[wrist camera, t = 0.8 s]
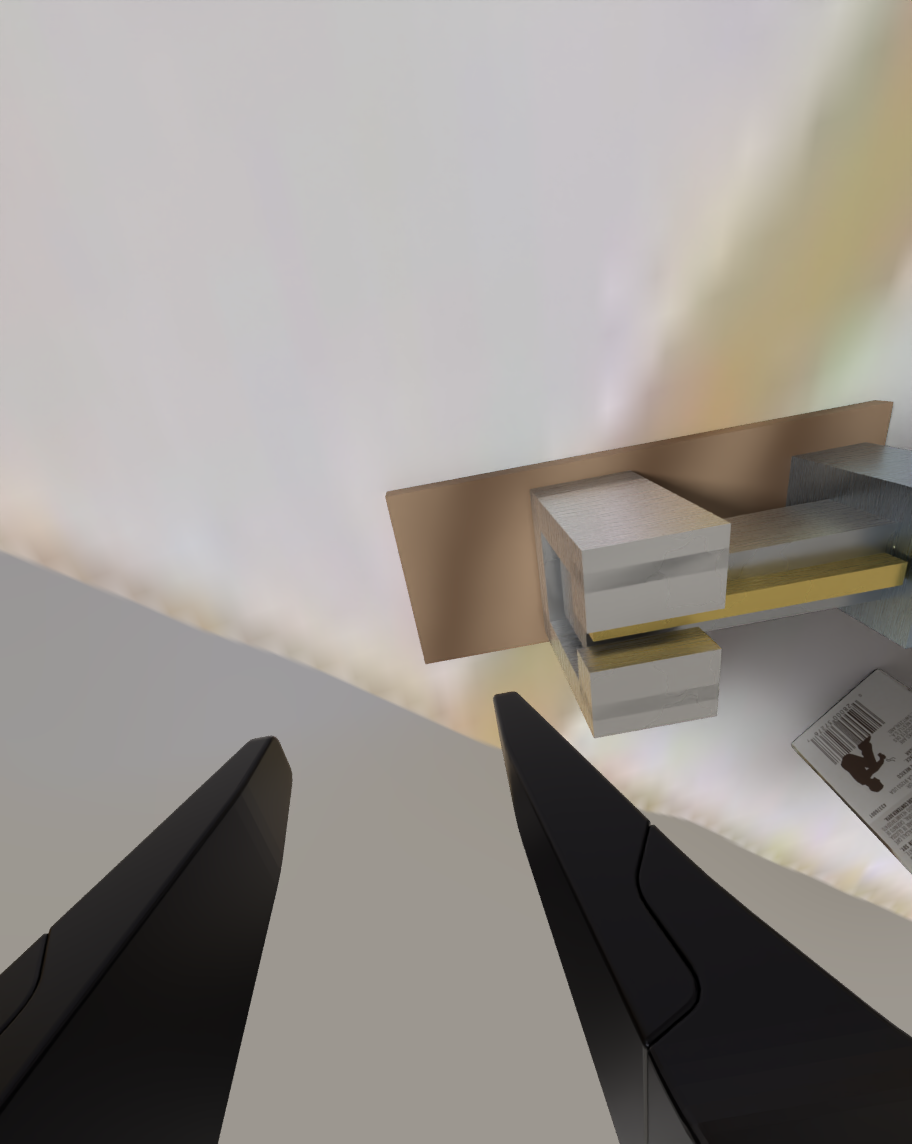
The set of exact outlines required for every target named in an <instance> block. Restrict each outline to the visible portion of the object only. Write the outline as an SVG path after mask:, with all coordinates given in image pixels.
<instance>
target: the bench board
mask: <svg viewBox="0 0 912 1144" xmlns="http://www.w3.org/2000/svg"><path fill="white" fill-rule="evenodd" d="M892 407H893V402H888V401H877V400H875V401H869V402H864V403H859V404H853V405H848V406H843V407H837V408H832V409H827V410H821V411H816V412H811V413H805V414H800V415H794V416H789V417H784V418H778V419H773V420H768V421H762V422H757V423H752V424H746V425H741V426H736V427H730V428H725V429H720V430H714V431H709V432H704V433H698V434H693V435H688V436H682V437H677V438H672V439H666V440H661V441H656V442H650V443H645V444H640V445H634V446H629V447H624V448H618V449H613V450H608V451H602V452H597V453H591V454H586V455H581V456H575V457H570V458H565V459H559V460H554V461H549V462H543V463H538V464H533V465H527V466H522V467H517V468H511V469H506V470H501V471H495V472H490V473H485V474H479V475H474V476H469V477H463V478H458V479H453V480H447V481H442V482H437V483H431V484H426V485H421V486H415V487H410V488H405V489H399V490H394V491H388V492H387V493H386V502H387V506H388V510H389V514H390V518H391V522H392V527H393V531H394V535H395V539H396V543H397V547H398V552H399V556H400V560H401V564H402V568H403V572H404V576H405V581H406V585H407V589H408V593H409V597H410V601H411V606H412V610H413V614H414V618H415V622H416V626H417V630H418V635H419V639H420V643H421V647H422V651H423V655H424V660H425V664H429V663H434V662H440V661H445V660H451V659H456V658H462V657H467V656H473V655H478V654H483V653H489V652H494V651H500V650H505V649H511V648H516V647H522V646H527V645H532V644H538V643H543V642H549V639H548V637H547V634H546V632H545V625H544V616H543V607H542V598H541V589H540V579H539V570H538V561H537V552H536V543H535V534H534V525H533V515H532V506H531V497H530V489H534V488H539V487H544V486H550V485H555V484H560V483H566V482H571V481H576V480H582V479H587V478H592V477H598V476H603V475H609V474H614V473H619V472H625V471H630V470H631V471H633V472H634V473H636V474H638V475H640V476H642V477H644V478H646V479H648V480H650V481H652V482H653V483H655V484H657V485H659V486H661V487H663V488H665V489H667V490H669V491H671V492H672V493H674V494H676V495H678V496H680V497H682V498H684V499H686V500H688V501H690V502H692V503H693V504H695V505H697V506H699V507H701V508H703V509H705V510H707V511H709V512H711V513H712V514H714V515H716V516H718V517H720V518H722V519H723V518H728V517H734V516H739V515H744V514H750V513H755V512H761V511H766V510H771V509H777V508H782V507H786V499H787V491H788V483H789V475H790V466H791V458H792V456H795V455H801V454H806V453H811V452H817V451H822V450H827V449H833V448H838V447H844V446H849V445H854V444H860V443H865V442H867V443H873V444H878V445H884V446H885V441H886V436H887V432H888V427H889V422H890V417H891V412H892Z"/></svg>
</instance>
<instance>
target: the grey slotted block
mask: <svg viewBox="0 0 912 1144" xmlns="http://www.w3.org/2000/svg"><path fill="white" fill-rule="evenodd" d="M530 497H531V506H532V515H533V525H534V534H535V543H536V552H537V561H538V570H539V579H540V589H541V598H542V607H543V616H544V625H545V632H546V634H547V637H548V639H549V641H550V643H551V645H552V647H553V650H554V652H555V654H556V656H557V658H558V661H559V663H560V665H561V667H562V669H563V671H564V674H565V676H566V678H567V680H568V682H569V685H570V687H571V689H572V691H573V693H574V695H575V698H576V700H577V702H578V704H579V706H580V709H581V711H582V713H583V715H584V717H585V719H586V722H587V724H588V726H589V728H590V730H591V733H592V735H593V737H594V738H598V737H604V736H609V735H615V734H620V733H626V732H631V731H637V730H642V729H648V728H653V727H659V726H664V725H670V724H675V723H681V722H686V721H692V720H697V719H703V718H708V717H714V716H717V707H718V693H719V680H720V666H721V653H722V649H721V648H720V647H719V646H718V645H717V644H716V643H715V642H714V641H713V640H712V639H711V638H710V637H709V636H708V635H707V634H706V633H705V632H704V631H703V630H702V629H701V628H700V627H694V628H688V629H683V630H677V631H672V632H666V633H661V634H655V635H650V636H645V637H639V638H634V639H628V640H623V641H617V642H612V643H606V644H601V645H595V646H590V647H585V648H584V647H583V645H582V643H581V642H580V640H579V638H578V636H577V635H576V633H575V631H574V629H573V628H572V626H571V624H570V622H569V620H568V619H567V617H566V615H565V612H564V600H563V589H562V578H561V566H560V560H561V561H562V563H563V564H564V565H565V567H566V568H567V570H568V571H569V573H570V574H571V582H572V594H573V607H574V613H575V614H576V616H577V618H578V619H579V621H580V623H581V624H582V626H583V628H584V629H585V631H586V633H587V634H588V633H593V632H599V631H604V630H610V629H615V628H621V627H626V626H631V625H637V624H642V623H648V622H653V621H659V620H664V619H670V618H675V617H680V616H686V615H691V614H697V613H702V612H708V611H713V610H718V609H724V608H725V598H726V585H727V571H728V558H729V544H730V530H731V523H730V522H728V521H726V520H724V519H722V518H720V517H718V516H716V515H714V514H712V513H711V512H709V511H707V510H705V509H703V508H701V507H699V506H697V505H695V504H693V503H692V502H690V501H688V500H686V499H684V498H682V497H680V496H678V495H676V494H674V493H672V492H671V491H669V490H667V489H665V488H663V487H661V486H659V485H657V484H655V483H653V482H652V481H650V480H648V479H646V478H644V477H642V476H640V475H638V474H636V473H634V472H633V471H631V470H630V471H625V472H619V473H614V474H609V475H603V476H598V477H592V478H587V479H582V480H576V481H571V482H566V483H560V484H555V485H550V486H544V487H539V488H534V489H530Z"/></svg>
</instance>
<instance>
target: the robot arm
mask: <svg viewBox="0 0 912 1144" xmlns="http://www.w3.org/2000/svg"><path fill="white" fill-rule="evenodd" d="M493 702H494V708H495V713H496V719H497V725H498V730H499V736H500V741H501V746H502V751H503V756H504V761H505V766H506V771H507V776H508V781H509V787H510V791H511V796H512V802H513V807H514V812H515V816H516V821H517V825H518V829H519V832H520V836H521V839H522V842H523V846H524V849H525V852H526V855H527V858H528V861H529V864H530V867H531V870H532V873H533V876H534V880H535V883H536V886H537V889H538V892H539V895H540V898H541V901H542V905H543V908H544V911H545V914H546V917H547V920H548V923H549V926H550V929H551V932H552V935H553V939H554V942H555V945H556V948H557V951H558V954H559V957H560V960H561V963H562V966H563V969H564V973H565V976H566V979H567V982H568V985H569V988H570V991H571V994H572V997H573V1000H574V1003H575V1007H576V1010H577V1013H578V1016H579V1019H580V1022H581V1025H582V1028H583V1031H584V1034H585V1037H586V1041H587V1044H588V1046H589V1050H590V1053H591V1056H592V1059H593V1062H594V1065H595V1068H596V1071H597V1074H598V1078H599V1081H600V1084H601V1087H602V1090H603V1093H604V1096H605V1099H606V1102H607V1106H608V1109H609V1112H610V1115H611V1118H612V1121H613V1124H614V1127H615V1130H616V1133H617V1136H618V1140H619V1143H620V1144H912V1037H911V1036H909V1035H908V1034H907V1033H905V1032H904V1031H902V1030H901V1029H899V1028H898V1027H897V1026H895V1025H894V1024H893V1023H891V1022H890V1021H889V1020H887V1019H886V1018H885V1017H883V1016H882V1015H881V1014H880V1013H878V1012H877V1011H876V1010H874V1009H873V1008H872V1007H871V1006H869V1005H868V1004H867V1003H866V1002H864V1001H863V1000H861V999H860V998H859V997H858V996H857V995H855V994H854V993H853V992H852V991H850V990H849V989H848V988H847V987H845V986H844V985H843V984H842V983H840V982H839V981H838V980H837V979H835V978H834V977H833V976H831V975H830V974H829V973H828V972H827V971H825V970H824V969H823V968H822V967H820V966H819V965H818V964H817V963H815V962H814V961H813V960H811V959H810V958H809V957H808V956H806V955H805V954H804V953H803V952H801V951H800V950H799V949H798V948H796V947H795V946H794V945H793V944H792V943H790V942H789V941H788V940H787V939H785V938H784V937H783V936H782V935H780V934H779V933H778V932H777V931H775V930H774V929H773V928H771V927H770V926H769V925H768V924H767V923H765V922H764V921H763V920H761V919H760V918H759V917H758V916H756V915H755V914H754V913H753V912H752V911H750V910H749V909H748V908H747V907H745V906H744V905H743V904H742V903H741V902H739V901H738V900H737V899H736V898H735V897H733V896H732V895H731V894H729V893H728V892H727V891H726V890H725V889H724V888H723V887H721V886H720V885H719V884H718V883H717V882H715V881H714V880H713V879H712V878H710V877H709V876H708V875H707V874H706V873H705V872H704V871H703V870H702V869H701V868H700V867H698V866H697V865H696V864H695V863H694V862H693V861H692V860H691V859H689V857H687V856H686V855H685V854H684V853H683V852H682V851H681V850H680V849H679V848H678V847H677V846H676V845H674V844H673V843H672V842H671V841H670V840H669V839H668V838H667V837H666V836H665V835H664V834H663V833H662V832H661V831H660V830H659V829H658V828H657V827H656V826H655V825H651V823H650V821H649V820H648V819H647V818H646V817H645V816H644V815H643V814H642V813H641V812H640V811H639V810H638V809H637V808H636V807H635V806H634V805H633V804H632V803H631V802H630V801H629V800H628V799H627V798H626V797H625V796H624V795H623V794H622V793H620V792H619V791H618V790H617V789H616V788H615V787H614V786H613V785H612V784H611V783H610V782H609V781H608V780H607V779H606V778H605V777H604V776H603V775H602V774H601V773H600V772H599V771H598V770H597V769H596V768H595V767H594V766H593V765H592V764H590V763H589V762H588V761H587V760H586V759H585V758H584V757H583V756H582V755H581V754H580V753H579V752H578V751H577V750H576V749H575V748H574V747H573V746H572V745H571V744H570V743H569V742H568V741H567V740H566V739H565V738H564V737H563V736H562V735H560V734H559V733H558V732H557V731H556V730H555V729H554V728H553V727H552V726H551V725H550V724H549V723H548V722H547V721H546V720H545V719H544V718H543V717H542V716H541V715H540V714H539V713H538V712H537V711H536V710H535V709H534V708H533V707H532V706H530V705H529V704H528V703H527V702H526V701H525V700H524V699H523V698H522V697H521V696H520V695H519V694H518V693H517V692H507V693H502V694H496V695H495V696H494V697H493ZM291 789H292V771H291V768H290V765H289V763H288V761H287V758H286V756H285V754H284V751H283V749H282V747H281V744H280V742H279V740H278V739H277V738H276V737H274V736H266V737H260V738H255V739H252V740H250V741H249V742H248V743H246V744H245V745H244V746H243V747H242V748H241V749H240V750H239V751H238V752H237V753H236V754H235V755H234V756H233V757H231V759H229V760H228V761H227V762H226V763H225V764H224V765H223V766H222V767H221V768H220V769H219V770H218V771H217V772H216V773H215V774H213V775H212V776H211V777H210V778H209V779H208V780H207V781H206V782H205V783H204V784H203V785H202V786H201V787H200V788H199V789H198V790H196V791H195V792H194V793H193V794H192V795H191V796H190V797H189V798H188V799H187V800H186V801H185V802H184V803H183V804H182V805H180V806H179V807H178V809H176V810H175V811H174V812H173V813H172V814H171V815H170V816H169V817H168V818H167V819H166V820H165V821H164V822H163V823H161V824H160V825H159V826H158V827H157V828H156V829H155V830H154V831H153V832H152V833H151V834H150V835H149V836H148V837H146V838H145V839H144V840H143V841H142V842H141V843H140V844H139V845H138V846H137V847H136V848H135V849H134V850H133V851H132V852H131V853H130V854H128V856H126V857H125V858H124V859H123V860H122V861H121V862H120V863H119V864H118V865H117V866H116V867H115V868H114V869H113V870H111V871H110V872H109V873H108V874H107V875H106V876H105V877H104V878H103V879H102V880H101V881H100V882H99V883H98V884H97V885H96V886H94V887H93V888H92V889H91V890H90V891H89V892H88V893H87V894H86V895H85V896H84V897H83V898H82V899H81V900H79V901H78V902H77V903H76V904H75V905H74V906H73V907H72V908H71V909H70V910H69V911H68V912H67V913H66V914H65V915H63V916H62V917H61V918H60V919H59V920H58V921H57V922H56V923H55V924H54V925H53V926H52V927H51V928H50V930H49V934H43V935H42V936H41V937H40V938H39V939H38V940H37V941H36V942H35V943H34V944H33V945H31V947H30V948H28V949H27V950H26V951H25V952H24V953H23V954H22V955H21V956H20V957H19V958H18V959H17V960H16V961H14V962H13V963H12V964H11V965H10V966H9V967H8V968H7V969H6V970H5V971H4V972H3V973H2V974H0V1144H218V1141H219V1136H220V1132H221V1128H222V1123H223V1119H224V1115H225V1111H226V1106H227V1102H228V1098H229V1093H230V1089H231V1084H232V1080H233V1076H234V1072H235V1068H236V1063H237V1059H238V1054H239V1050H240V1046H241V1042H242V1037H243V1033H244V1029H245V1025H246V1020H247V1016H248V1011H249V1007H250V1003H251V998H252V994H253V990H254V986H255V981H256V977H257V973H258V969H259V964H260V960H261V956H262V951H263V947H264V943H265V938H266V934H267V930H268V925H269V921H270V916H271V912H272V908H273V904H274V900H275V895H276V891H277V886H278V882H279V877H280V872H281V866H282V859H283V852H284V844H285V835H286V828H287V821H288V812H289V805H290V797H291Z"/></svg>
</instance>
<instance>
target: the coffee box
mask: <svg viewBox="0 0 912 1144" xmlns="http://www.w3.org/2000/svg"><path fill="white" fill-rule="evenodd" d="M792 748H793V749H794V750H795V751H796V752H797V753H798V754H799V755H800V756H801V757H802V758H803V759H804V761H805V762H806V763H807V764H808V765H809V766H810V767H811V768H812V769H813V770H814V771H815V772H816V773H817V774H818V775H819V776H820V777H821V778H822V779H823V780H824V782H825V783H826V784H827V785H828V786H829V787H830V788H831V789H832V790H833V791H834V792H835V793H836V794H837V795H838V796H839V797H840V798H841V799H842V801H843V802H844V803H845V804H846V805H847V806H848V807H849V808H850V809H851V810H852V811H853V812H854V813H855V814H856V815H857V817H858V818H859V819H860V820H861V821H862V822H863V823H864V824H865V825H866V826H867V827H868V828H869V829H870V830H871V831H872V832H873V834H874V835H875V836H876V837H877V838H878V839H879V840H880V841H881V842H882V843H883V844H884V845H885V846H886V847H887V848H888V850H889V851H890V852H891V853H892V854H893V855H894V856H895V857H896V858H897V859H898V860H899V861H900V862H901V864H902V865H903V866H904V867H905V868H906V869H907V870H908V871H909V872H910V873H911V874H912V690H911V689H909V688H908V687H906V686H905V685H903V684H902V683H900V682H899V681H897V680H895V679H894V678H892V677H891V676H889V675H888V674H886V673H885V672H883V671H882V670H876V671H874V672H873V673H872V674H871V675H869V676H868V677H867V678H866V679H865V680H864V681H863V682H861V683H860V684H859V685H858V686H857V687H856V688H855V689H853V690H852V691H851V692H850V693H849V694H848V695H847V696H846V697H844V698H843V699H842V700H841V701H840V702H839V703H838V704H836V705H835V706H834V707H833V708H832V709H831V710H830V711H828V712H827V713H826V714H825V715H824V716H823V717H821V718H820V719H819V720H818V721H817V722H816V723H814V724H813V725H812V726H811V727H810V728H809V729H808V730H806V731H805V732H804V733H803V734H802V735H801V736H799V737H798V738H797V739H796V740H795V741H794V742H793V743H792Z"/></svg>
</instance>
